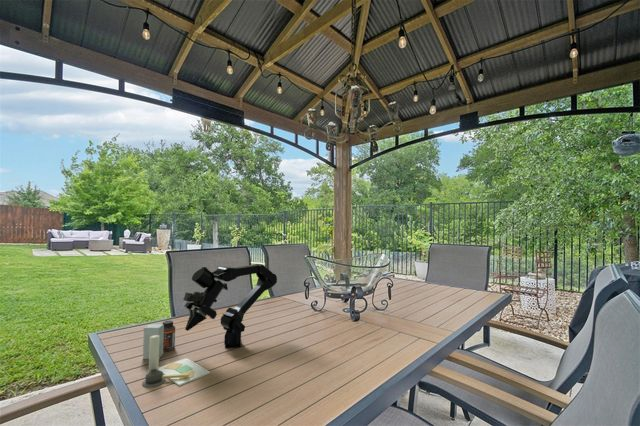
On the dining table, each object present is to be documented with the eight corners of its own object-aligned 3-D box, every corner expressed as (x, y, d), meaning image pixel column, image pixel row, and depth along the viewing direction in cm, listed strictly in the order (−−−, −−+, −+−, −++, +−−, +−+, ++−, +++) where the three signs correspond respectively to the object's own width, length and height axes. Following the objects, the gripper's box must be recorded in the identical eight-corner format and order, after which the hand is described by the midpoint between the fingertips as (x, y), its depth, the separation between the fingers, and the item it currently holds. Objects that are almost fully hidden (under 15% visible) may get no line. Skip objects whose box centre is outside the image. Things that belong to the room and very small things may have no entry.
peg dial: (169, 363, 110) (171, 330, 110) (190, 377, 100) (192, 341, 101) (136, 375, 101) (138, 339, 102) (156, 391, 92) (157, 351, 92)
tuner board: (186, 359, 115) (186, 357, 115) (210, 373, 104) (210, 371, 104) (133, 377, 101) (133, 375, 101) (154, 396, 90) (155, 394, 90)
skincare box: (163, 354, 119) (164, 324, 120) (158, 359, 115) (159, 327, 115) (148, 354, 119) (149, 324, 120) (142, 359, 115) (143, 327, 115)
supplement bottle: (157, 352, 121) (158, 324, 121) (160, 346, 126) (161, 320, 127) (173, 351, 122) (174, 323, 123) (175, 345, 128) (176, 319, 129)
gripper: (186, 282, 125) (161, 316, 117) (205, 284, 111) (177, 323, 103) (207, 296, 130) (183, 329, 122) (227, 300, 117) (202, 338, 108)
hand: (186, 330), depth 114 cm, fingers closed
